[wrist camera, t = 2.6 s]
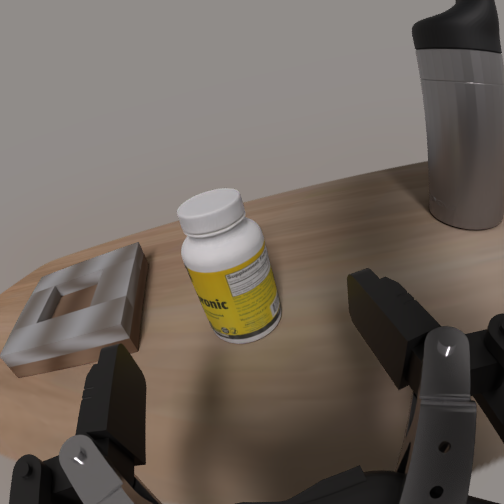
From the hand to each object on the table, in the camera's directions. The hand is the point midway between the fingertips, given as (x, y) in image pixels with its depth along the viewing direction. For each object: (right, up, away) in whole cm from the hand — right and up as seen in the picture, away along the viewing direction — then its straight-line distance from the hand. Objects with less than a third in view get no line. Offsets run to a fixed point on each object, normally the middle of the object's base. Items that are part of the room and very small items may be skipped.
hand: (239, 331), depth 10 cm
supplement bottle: (0, -3, +13) cm, 14 cm away
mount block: (-17, -4, +18) cm, 25 cm away
